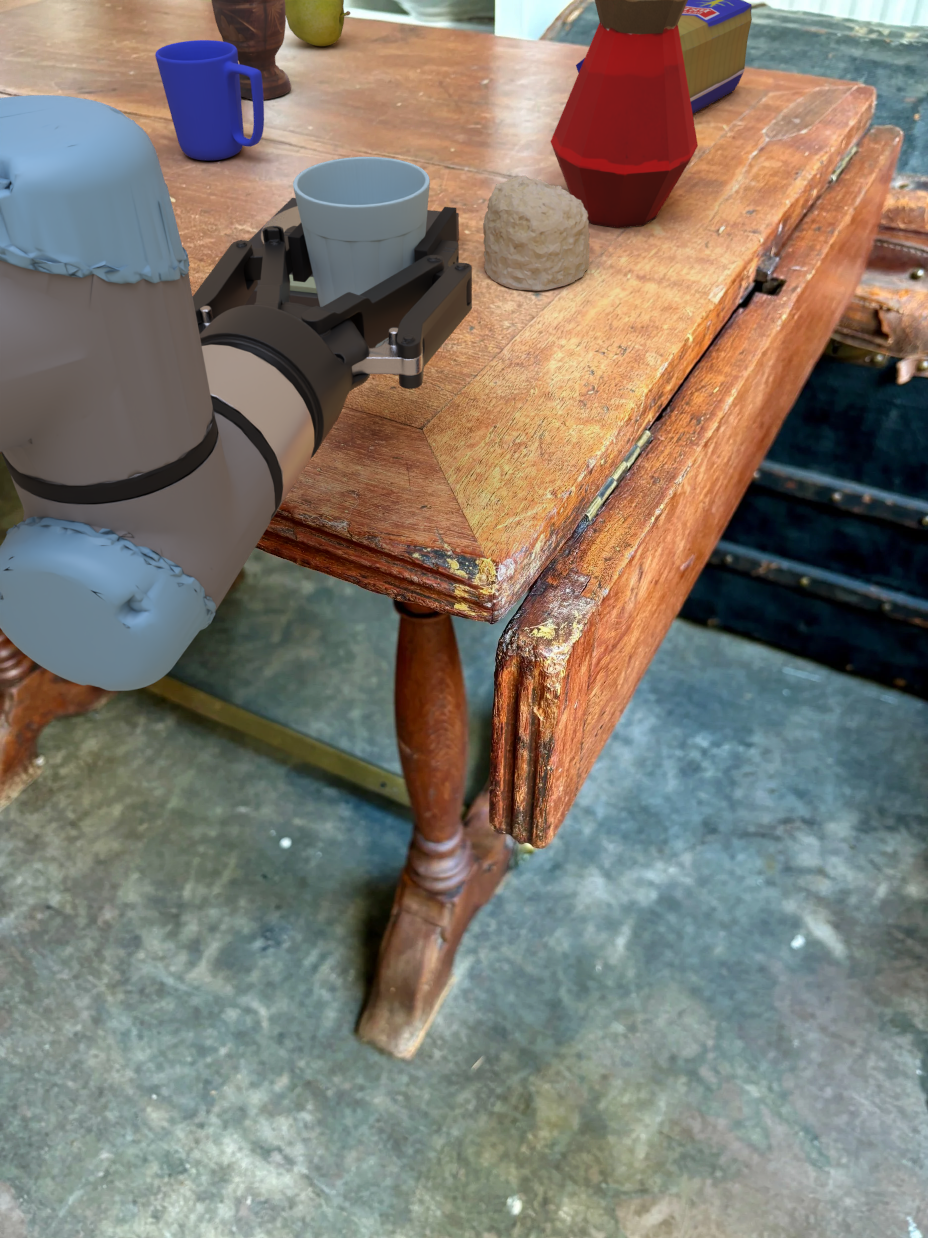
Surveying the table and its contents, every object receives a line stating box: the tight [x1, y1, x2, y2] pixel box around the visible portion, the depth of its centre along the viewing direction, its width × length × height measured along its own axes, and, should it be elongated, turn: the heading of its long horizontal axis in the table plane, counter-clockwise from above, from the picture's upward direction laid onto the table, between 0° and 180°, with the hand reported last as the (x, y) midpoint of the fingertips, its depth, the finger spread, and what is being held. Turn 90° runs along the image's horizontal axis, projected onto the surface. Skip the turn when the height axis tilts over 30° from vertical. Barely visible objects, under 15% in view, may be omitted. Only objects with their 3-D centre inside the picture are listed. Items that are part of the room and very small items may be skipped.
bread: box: [575, 0, 753, 115], centre depth 114 cm, size 10×25×10 cm, turn 143°
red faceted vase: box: [550, 0, 699, 229], centre depth 89 cm, size 16×14×20 cm
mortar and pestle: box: [211, 0, 292, 100], centre depth 116 cm, size 12×9×20 cm
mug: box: [154, 39, 265, 162], centre depth 104 cm, size 8×12×10 cm
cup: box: [292, 156, 431, 347], centre depth 60 cm, size 8×8×10 cm
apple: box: [285, 0, 351, 47], centre depth 137 cm, size 8×9×8 cm
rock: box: [482, 174, 591, 292], centre depth 84 cm, size 9×10×10 cm
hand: (391, 223), depth 62 cm, fingers closed on cup, 7 cm apart
